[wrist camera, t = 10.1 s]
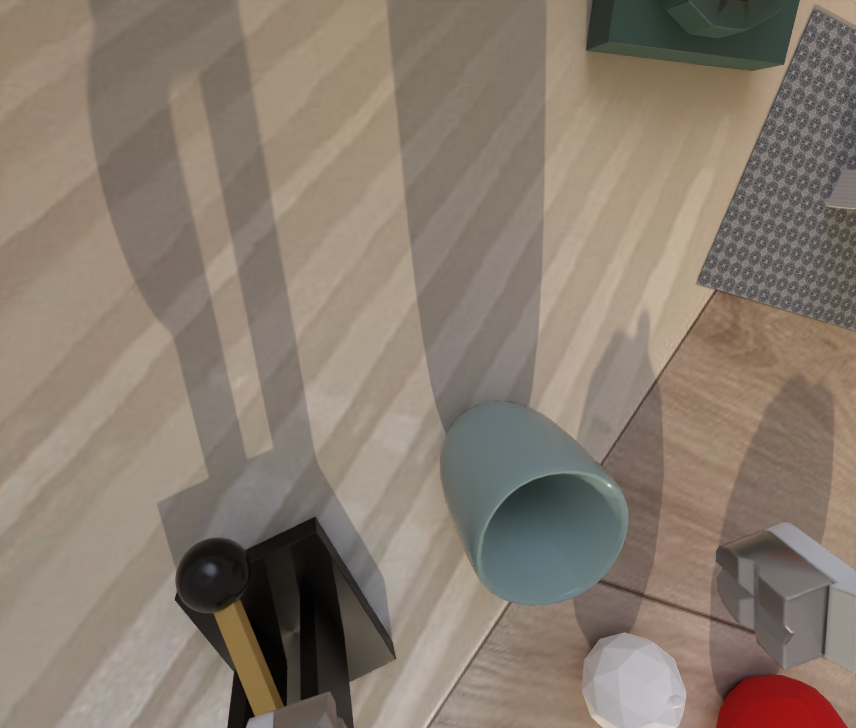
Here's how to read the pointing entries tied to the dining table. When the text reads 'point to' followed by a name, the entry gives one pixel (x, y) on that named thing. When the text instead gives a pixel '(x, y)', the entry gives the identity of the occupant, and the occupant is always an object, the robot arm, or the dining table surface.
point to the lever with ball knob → (228, 611)
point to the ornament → (632, 684)
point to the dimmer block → (695, 30)
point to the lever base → (303, 622)
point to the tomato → (776, 705)
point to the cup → (530, 504)
